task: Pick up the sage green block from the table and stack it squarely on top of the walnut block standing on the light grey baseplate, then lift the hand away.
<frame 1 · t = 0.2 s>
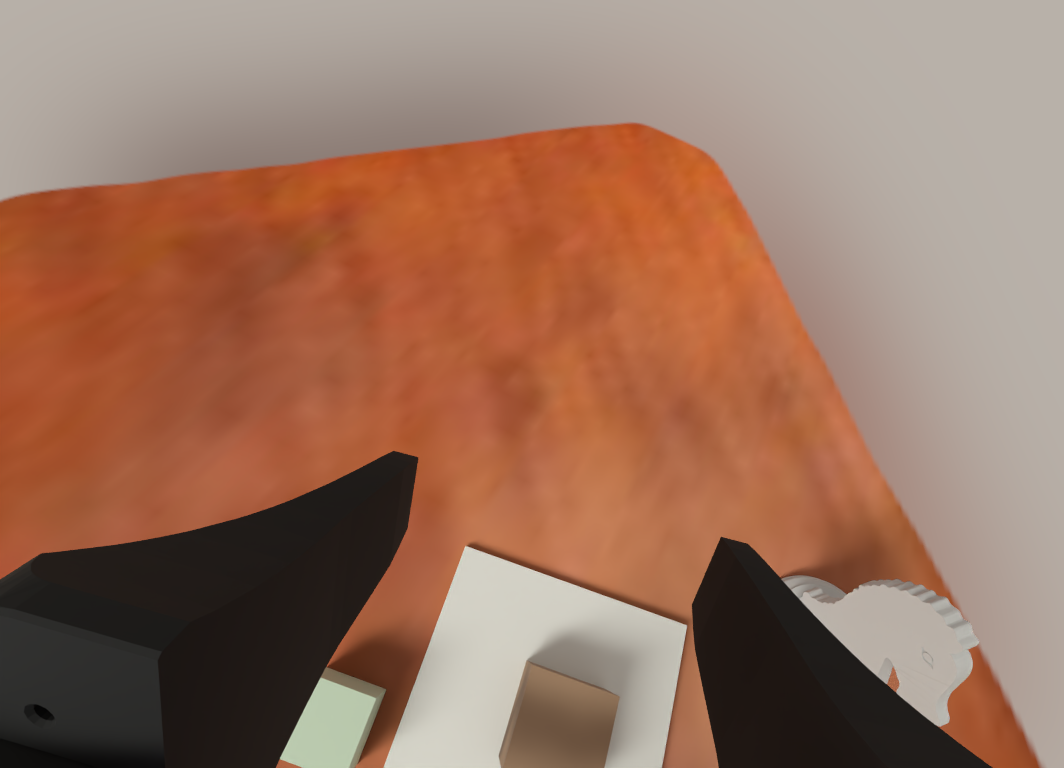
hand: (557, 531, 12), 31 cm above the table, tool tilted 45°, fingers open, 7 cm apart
sage block: (341, 713, 36), on the table
baseplate: (534, 730, 37), on the table
walnut block: (553, 721, 36), point 1 cm above the table, touching baseplate
chess piece: (808, 642, 41), on the table
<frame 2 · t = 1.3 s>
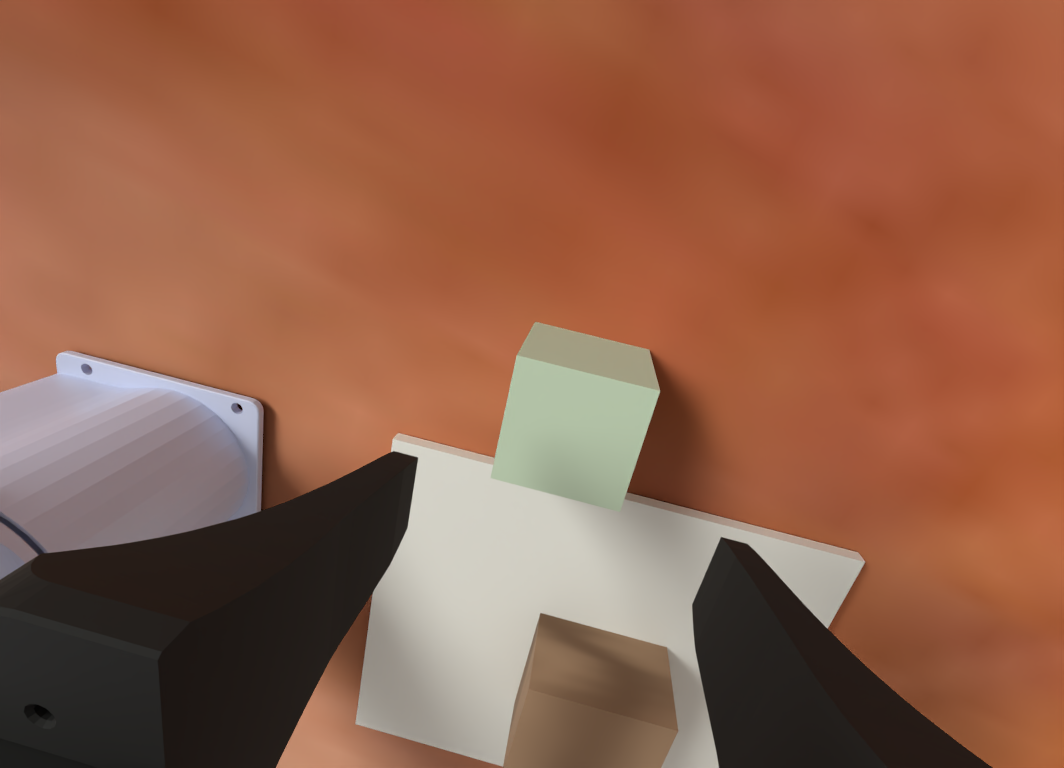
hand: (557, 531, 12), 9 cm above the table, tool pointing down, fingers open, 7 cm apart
sage block: (577, 387, 21), on the table
baseplate: (572, 645, 25), on the table
walnut block: (587, 675, 25), point 1 cm above the table, touching baseplate
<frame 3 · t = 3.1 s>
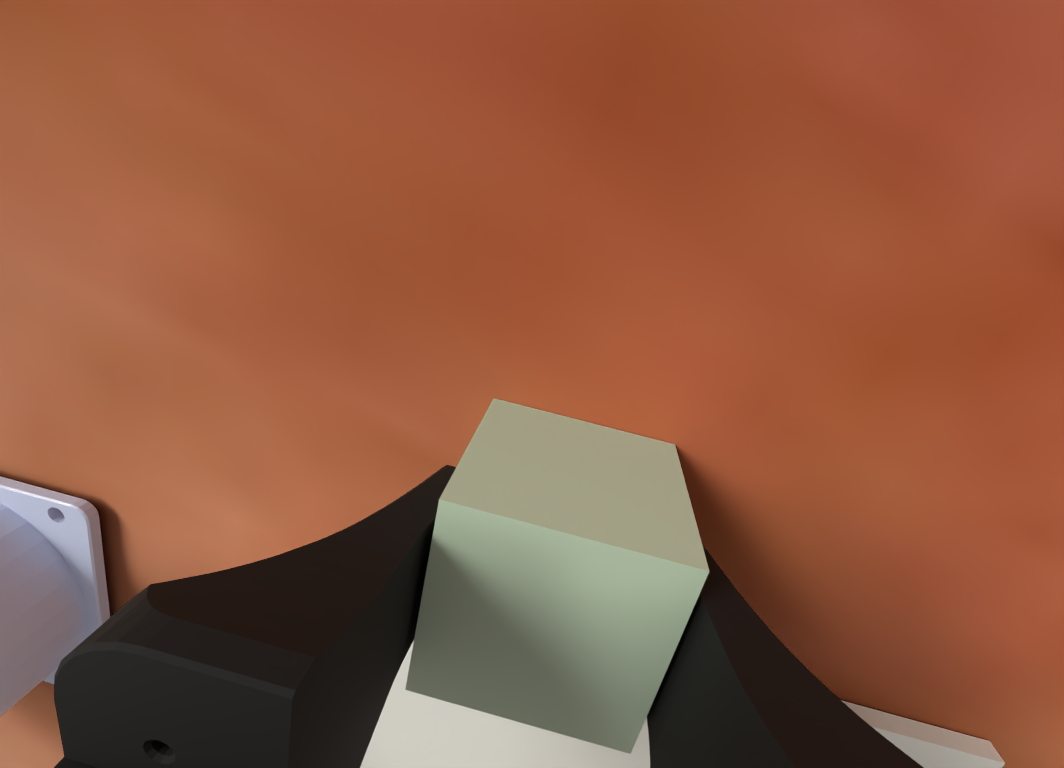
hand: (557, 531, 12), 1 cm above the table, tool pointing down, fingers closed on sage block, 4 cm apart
sage block: (562, 498, 13), on the table, touching gripper
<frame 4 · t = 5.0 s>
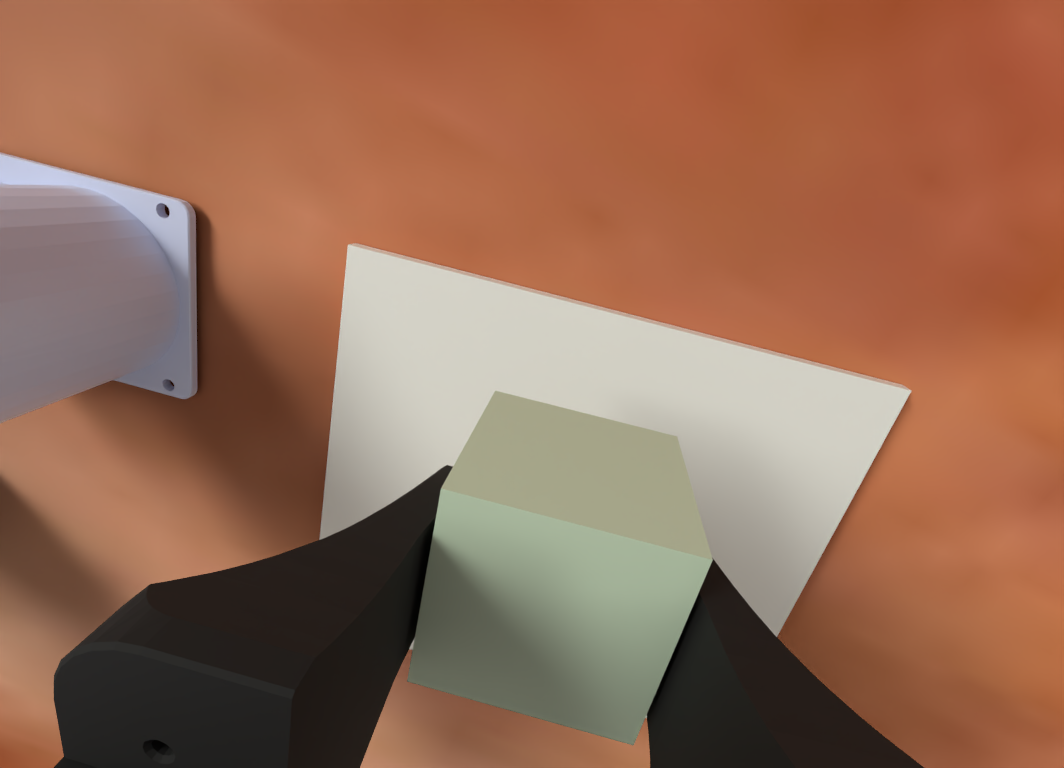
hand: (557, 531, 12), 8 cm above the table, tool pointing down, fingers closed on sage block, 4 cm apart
sage block: (563, 490, 13), point 7 cm above the table, touching gripper
baseplate: (560, 517, 22), on the table
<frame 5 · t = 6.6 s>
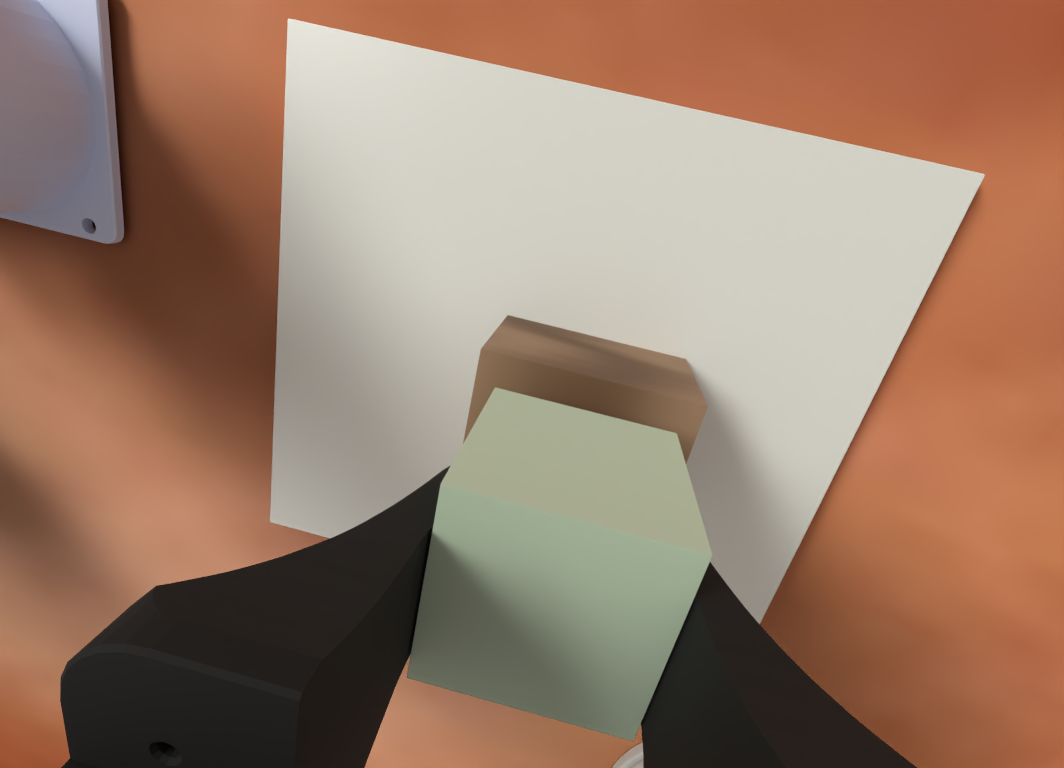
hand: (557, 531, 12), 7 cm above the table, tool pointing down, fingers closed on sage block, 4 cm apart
sage block: (563, 488, 13), point 6 cm above the table, touching gripper
baseplate: (554, 378, 19), on the table
walnut block: (574, 417, 18), point 1 cm above the table, touching baseplate
when the fingers open (7 cm above the table, at t = 6.9 s): sage block drops 1 cm, resting on walnut block.
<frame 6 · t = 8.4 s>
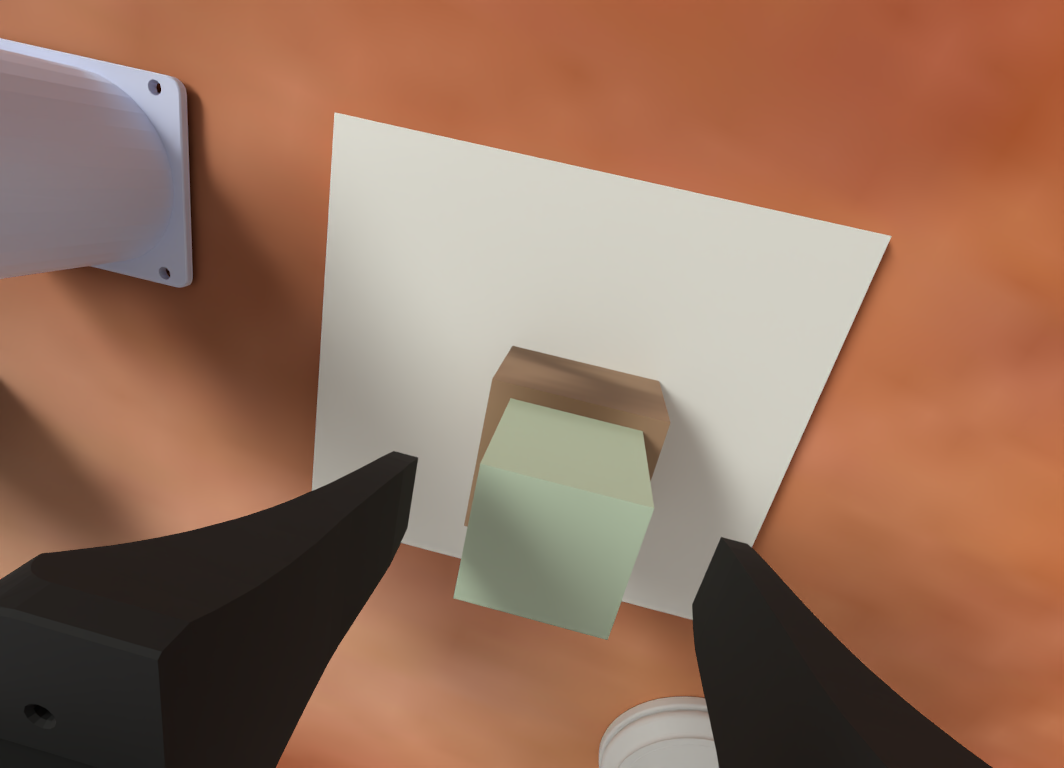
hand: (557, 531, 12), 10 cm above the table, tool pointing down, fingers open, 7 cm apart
sage block: (560, 472, 18), point 5 cm above the table, touching walnut block
baseplate: (551, 396, 22), on the table
walnut block: (568, 429, 22), point 1 cm above the table, touching baseplate, sage block
chess piece: (688, 758, 29), on the table
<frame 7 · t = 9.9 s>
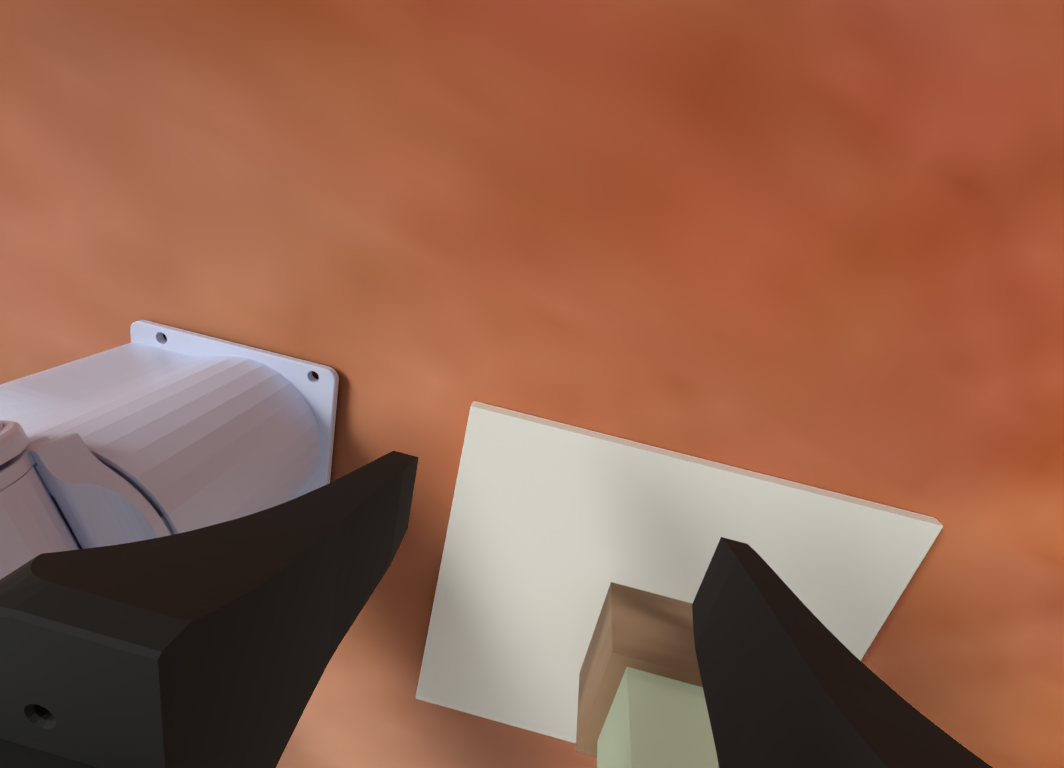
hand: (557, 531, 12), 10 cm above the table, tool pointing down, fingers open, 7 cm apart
sage block: (664, 720, 22), point 5 cm above the table, touching walnut block
baseplate: (639, 615, 26), on the table
walnut block: (654, 645, 25), point 1 cm above the table, touching baseplate, sage block
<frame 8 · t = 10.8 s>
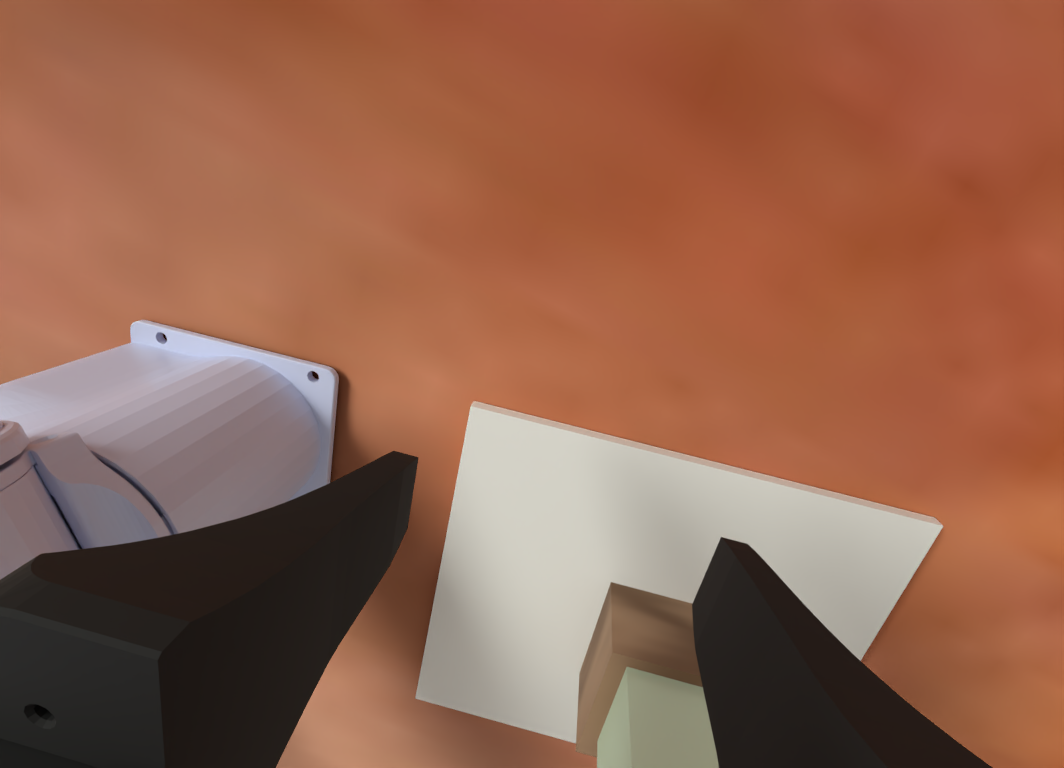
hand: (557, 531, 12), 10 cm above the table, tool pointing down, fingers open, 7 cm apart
sage block: (664, 720, 22), point 5 cm above the table, touching walnut block
baseplate: (639, 615, 26), on the table
walnut block: (654, 645, 25), point 1 cm above the table, touching baseplate, sage block
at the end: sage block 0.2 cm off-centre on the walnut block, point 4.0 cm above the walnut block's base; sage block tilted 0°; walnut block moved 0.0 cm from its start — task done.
